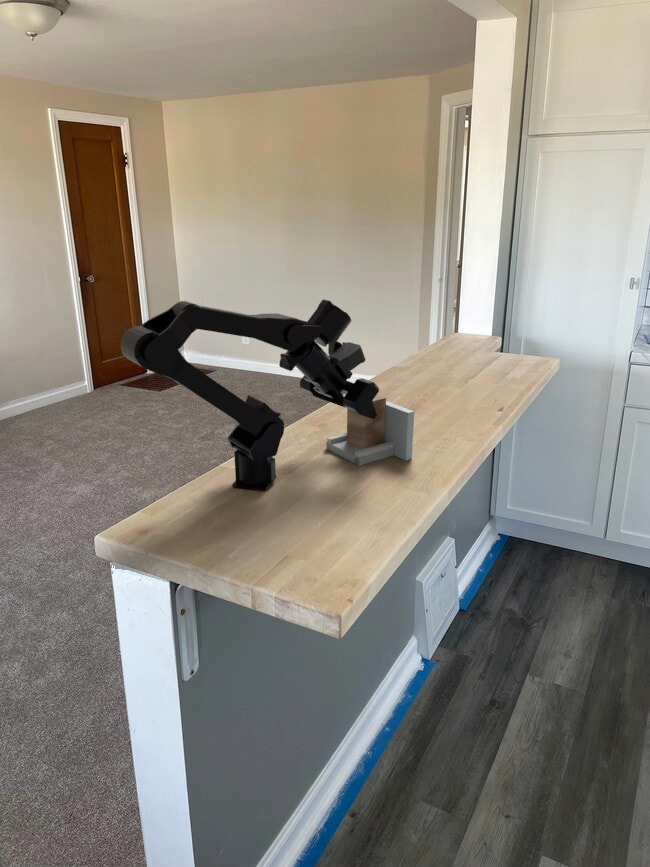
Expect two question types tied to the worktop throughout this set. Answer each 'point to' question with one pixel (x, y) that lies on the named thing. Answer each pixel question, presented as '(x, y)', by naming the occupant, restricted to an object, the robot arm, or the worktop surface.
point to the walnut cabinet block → (367, 426)
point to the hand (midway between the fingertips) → (360, 411)
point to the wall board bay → (396, 439)
